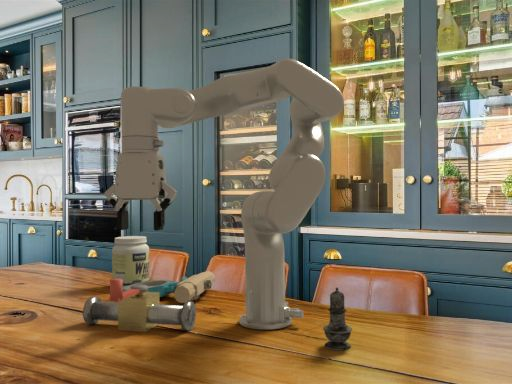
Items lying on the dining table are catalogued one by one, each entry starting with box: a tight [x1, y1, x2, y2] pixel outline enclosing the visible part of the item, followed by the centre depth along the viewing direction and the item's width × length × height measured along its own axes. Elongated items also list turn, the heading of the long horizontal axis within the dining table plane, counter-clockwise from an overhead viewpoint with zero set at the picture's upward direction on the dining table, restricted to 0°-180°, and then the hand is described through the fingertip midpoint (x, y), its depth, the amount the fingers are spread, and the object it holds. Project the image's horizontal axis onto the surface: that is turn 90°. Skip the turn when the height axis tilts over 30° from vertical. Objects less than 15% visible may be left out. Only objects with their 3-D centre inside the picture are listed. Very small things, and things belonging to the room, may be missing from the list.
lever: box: [108, 278, 148, 302], centre depth 104 cm, size 13×4×5 cm, turn 166°
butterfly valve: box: [123, 270, 216, 304], centre depth 138 cm, size 27×7×30 cm
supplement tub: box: [111, 235, 151, 287], centre depth 153 cm, size 12×12×17 cm
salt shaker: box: [322, 286, 353, 351], centre depth 93 cm, size 6×6×12 cm
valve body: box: [82, 292, 197, 333], centre depth 108 cm, size 26×7×8 cm, turn 76°
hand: (140, 229), depth 97 cm, fingers open, 7 cm apart
